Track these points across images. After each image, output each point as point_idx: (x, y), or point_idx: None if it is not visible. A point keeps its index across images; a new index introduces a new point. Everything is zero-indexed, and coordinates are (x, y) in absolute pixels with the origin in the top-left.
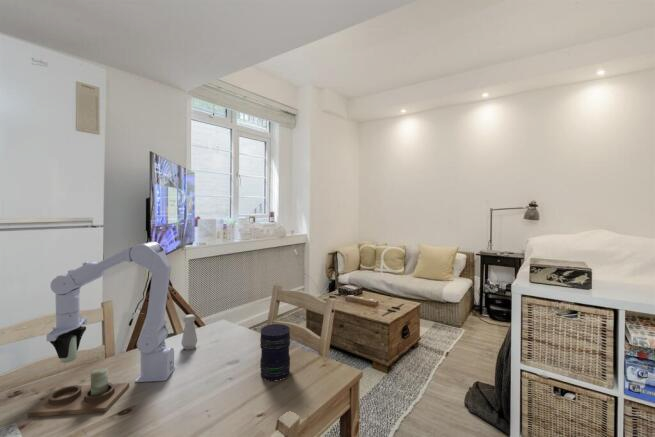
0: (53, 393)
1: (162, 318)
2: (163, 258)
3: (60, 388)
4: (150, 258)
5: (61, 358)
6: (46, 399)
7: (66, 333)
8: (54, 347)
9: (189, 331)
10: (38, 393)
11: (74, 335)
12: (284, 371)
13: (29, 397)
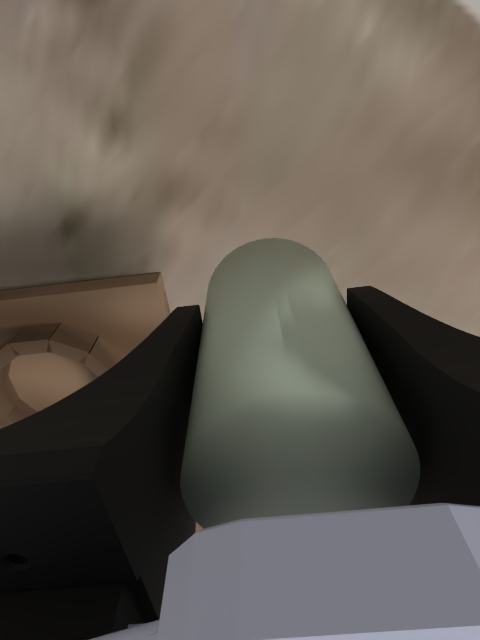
0: (28, 351)
1: None
2: None
3: (137, 288)
4: None
5: (205, 305)
6: (24, 305)
7: (461, 413)
8: (101, 377)
9: None
10: (111, 144)
11: (405, 502)
12: None
13: (61, 124)
